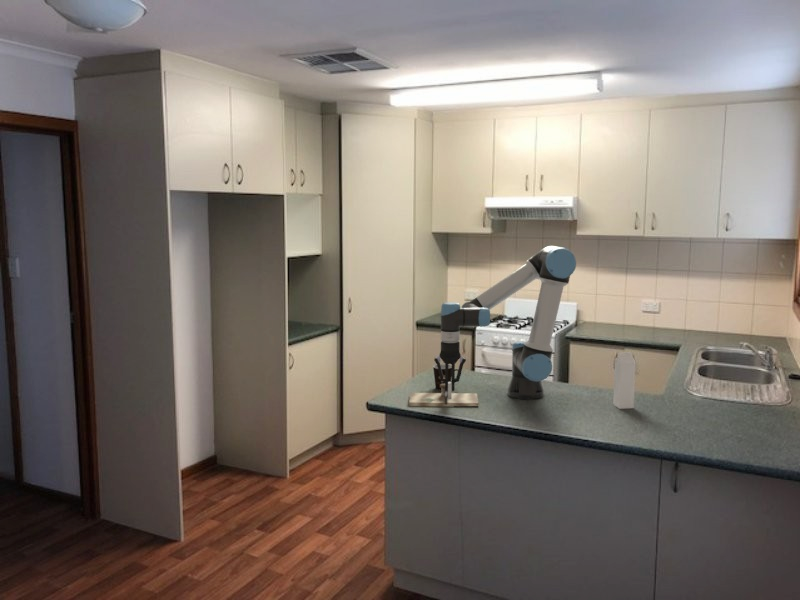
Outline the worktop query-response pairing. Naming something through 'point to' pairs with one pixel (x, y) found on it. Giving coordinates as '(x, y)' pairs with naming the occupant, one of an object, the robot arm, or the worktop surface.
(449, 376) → the coffee mug
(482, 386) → the worktop surface
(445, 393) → the dark grey square rod
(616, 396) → the milk
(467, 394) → the wooden board
